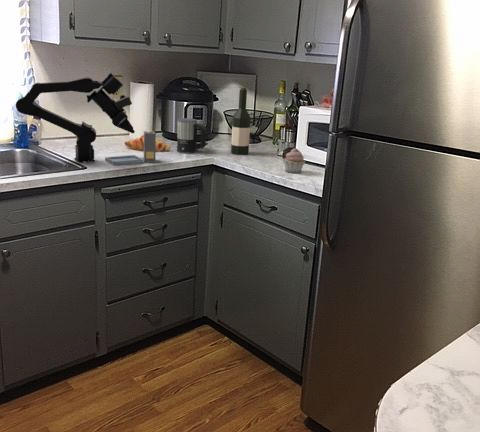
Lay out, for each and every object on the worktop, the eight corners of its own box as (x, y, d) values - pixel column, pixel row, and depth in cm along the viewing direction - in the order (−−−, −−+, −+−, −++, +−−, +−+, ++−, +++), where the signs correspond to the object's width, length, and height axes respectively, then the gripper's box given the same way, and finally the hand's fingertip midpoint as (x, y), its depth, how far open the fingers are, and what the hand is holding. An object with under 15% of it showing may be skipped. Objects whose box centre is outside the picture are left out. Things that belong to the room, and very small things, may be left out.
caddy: (144, 162, 235) (144, 131, 231) (143, 159, 240) (143, 129, 236) (155, 162, 236) (155, 132, 232) (154, 159, 241) (154, 130, 237)
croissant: (170, 157, 264) (172, 141, 265) (168, 151, 254) (170, 134, 255) (125, 153, 264) (127, 137, 265) (121, 147, 254) (123, 130, 255)
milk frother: (175, 153, 257) (175, 120, 252) (178, 146, 272) (179, 115, 267) (206, 154, 257) (207, 122, 253) (208, 148, 272) (209, 117, 268)
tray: (114, 165, 226) (113, 161, 226) (105, 160, 233) (105, 157, 233) (143, 162, 233) (143, 159, 233) (134, 158, 240) (134, 155, 240)
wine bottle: (246, 155, 260) (250, 89, 251) (228, 154, 261) (232, 87, 252) (250, 152, 268) (254, 87, 259) (232, 150, 269) (236, 86, 260)
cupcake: (291, 175, 228) (293, 150, 225) (277, 170, 235) (279, 146, 232) (309, 173, 233) (311, 149, 230) (294, 168, 240) (296, 145, 237)
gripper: (120, 91, 218) (149, 120, 224) (118, 86, 235) (145, 114, 241) (100, 111, 218) (129, 140, 224) (99, 105, 235) (126, 132, 241)
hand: (133, 130), depth 233 cm, fingers open, 9 cm apart
